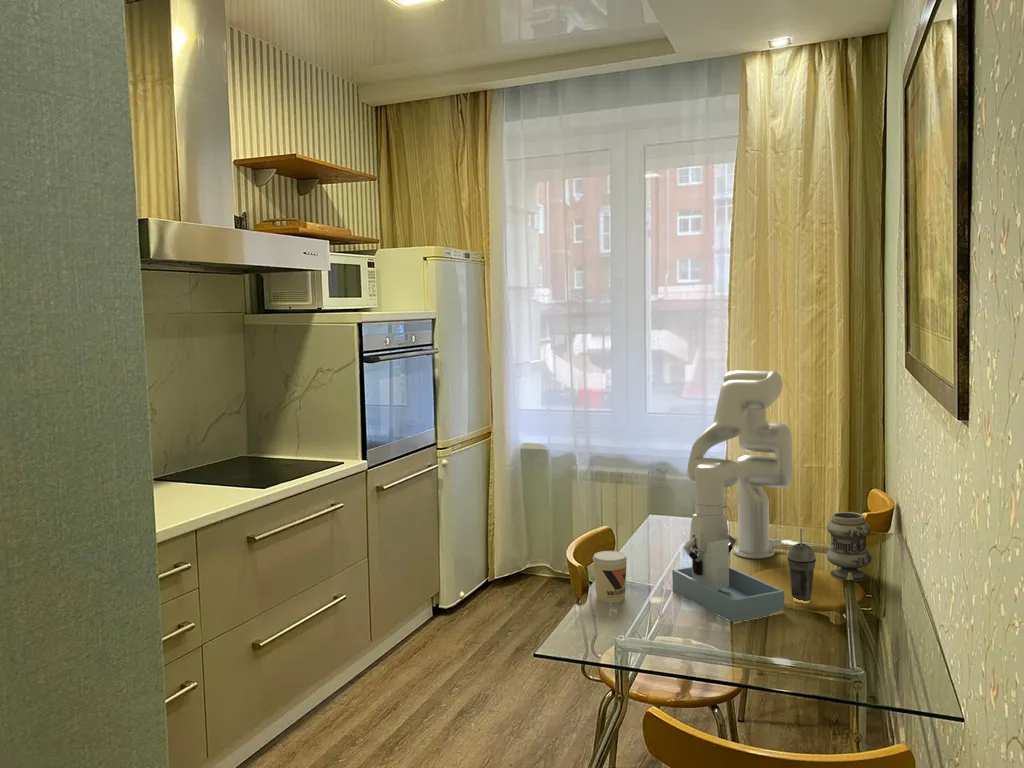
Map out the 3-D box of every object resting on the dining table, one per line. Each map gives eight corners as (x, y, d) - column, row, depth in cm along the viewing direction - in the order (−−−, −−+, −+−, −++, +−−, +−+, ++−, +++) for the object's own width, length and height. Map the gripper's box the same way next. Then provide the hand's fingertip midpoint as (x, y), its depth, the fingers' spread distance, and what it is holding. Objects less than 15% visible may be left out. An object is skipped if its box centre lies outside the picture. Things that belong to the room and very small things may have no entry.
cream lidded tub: (606, 606, 217) (605, 562, 216) (587, 596, 226) (586, 553, 225) (634, 599, 222) (633, 556, 221) (615, 589, 230) (614, 548, 229)
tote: (718, 582, 234) (718, 561, 233) (784, 613, 208) (784, 591, 208) (672, 590, 228) (672, 569, 227) (734, 624, 202) (733, 600, 202)
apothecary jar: (837, 566, 244) (837, 507, 242) (878, 574, 235) (878, 513, 234) (819, 576, 236) (819, 515, 234) (861, 585, 227) (861, 522, 225)
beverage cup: (817, 598, 218) (817, 525, 217) (814, 607, 212) (814, 532, 210) (788, 594, 222) (788, 523, 220) (785, 603, 215) (785, 529, 213)
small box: (729, 586, 223) (729, 539, 222) (715, 591, 219) (714, 544, 218) (705, 579, 230) (705, 534, 228) (691, 584, 226) (690, 538, 224)
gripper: (727, 502, 229) (728, 563, 231) (674, 510, 223) (675, 572, 224) (744, 508, 222) (744, 571, 224) (690, 516, 216) (691, 580, 217)
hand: (710, 571), depth 224 cm, fingers closed on small box, 7 cm apart
